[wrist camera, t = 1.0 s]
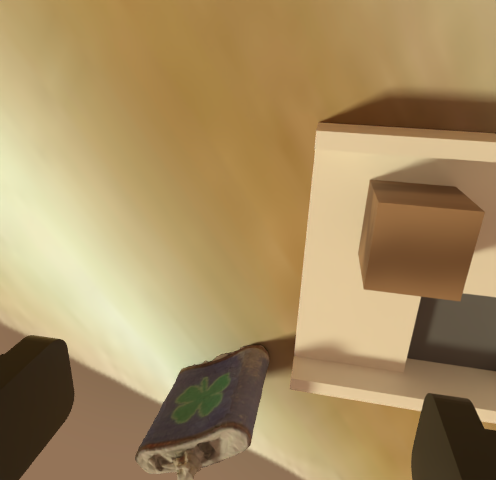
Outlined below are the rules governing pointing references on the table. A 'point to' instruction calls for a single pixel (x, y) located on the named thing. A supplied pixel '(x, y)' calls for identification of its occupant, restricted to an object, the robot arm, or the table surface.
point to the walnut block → (418, 239)
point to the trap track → (391, 304)
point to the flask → (206, 414)
